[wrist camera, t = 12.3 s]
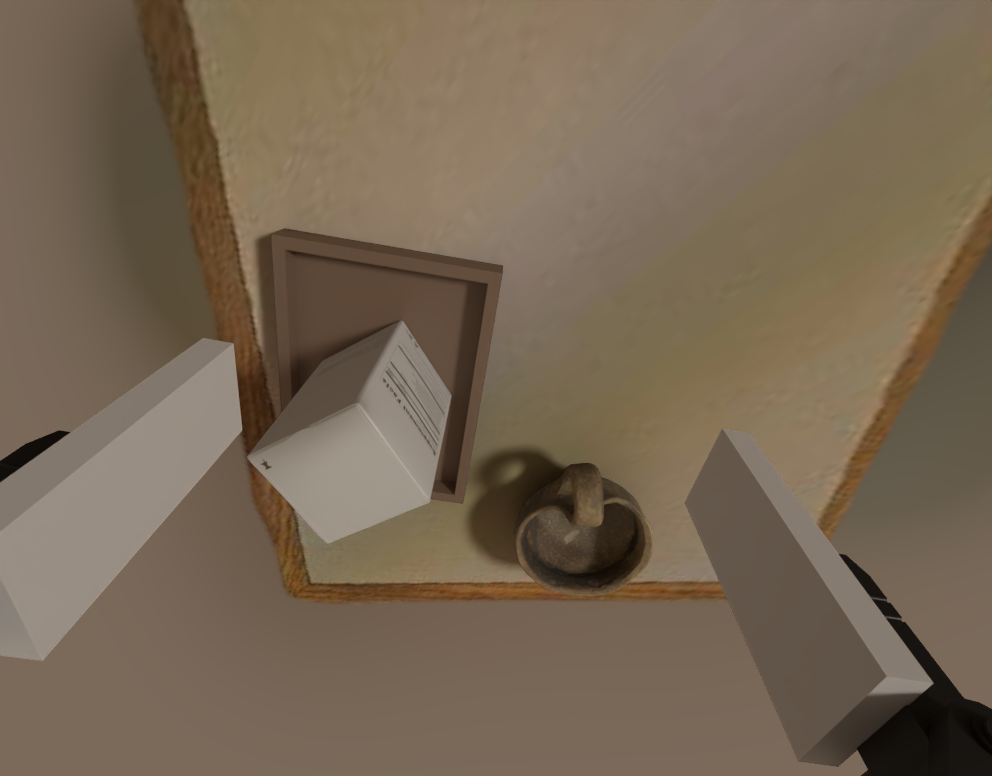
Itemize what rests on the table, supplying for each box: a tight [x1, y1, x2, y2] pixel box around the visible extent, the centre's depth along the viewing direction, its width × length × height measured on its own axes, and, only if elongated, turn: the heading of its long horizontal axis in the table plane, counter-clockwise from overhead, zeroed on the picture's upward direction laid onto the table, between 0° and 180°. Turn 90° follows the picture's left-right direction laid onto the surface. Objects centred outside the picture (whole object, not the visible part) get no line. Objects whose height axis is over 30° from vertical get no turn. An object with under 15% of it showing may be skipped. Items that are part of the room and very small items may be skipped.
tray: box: [271, 229, 503, 504], centre depth 44 cm, size 24×18×2 cm
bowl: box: [514, 463, 653, 596], centre depth 47 cm, size 14×18×10 cm
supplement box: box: [247, 321, 451, 544], centre depth 38 cm, size 9×9×15 cm
